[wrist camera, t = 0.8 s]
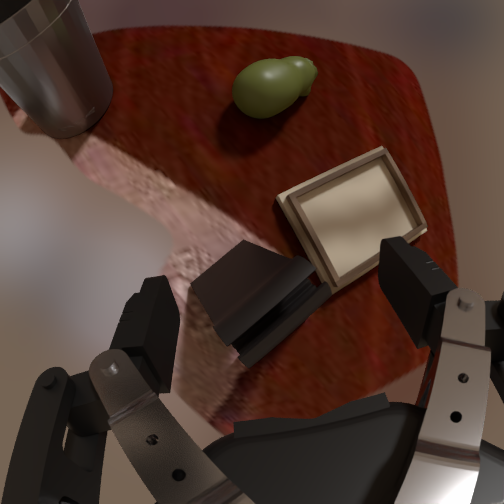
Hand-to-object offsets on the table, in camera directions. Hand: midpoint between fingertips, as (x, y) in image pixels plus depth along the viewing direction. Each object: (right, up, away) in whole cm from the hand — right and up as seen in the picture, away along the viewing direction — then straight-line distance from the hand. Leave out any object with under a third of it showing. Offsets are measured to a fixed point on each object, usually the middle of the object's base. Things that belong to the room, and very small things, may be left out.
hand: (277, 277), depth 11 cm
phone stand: (-1, -3, +16) cm, 16 cm away
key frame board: (+9, +4, +18) cm, 21 cm away
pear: (+1, +17, +19) cm, 25 cm away
